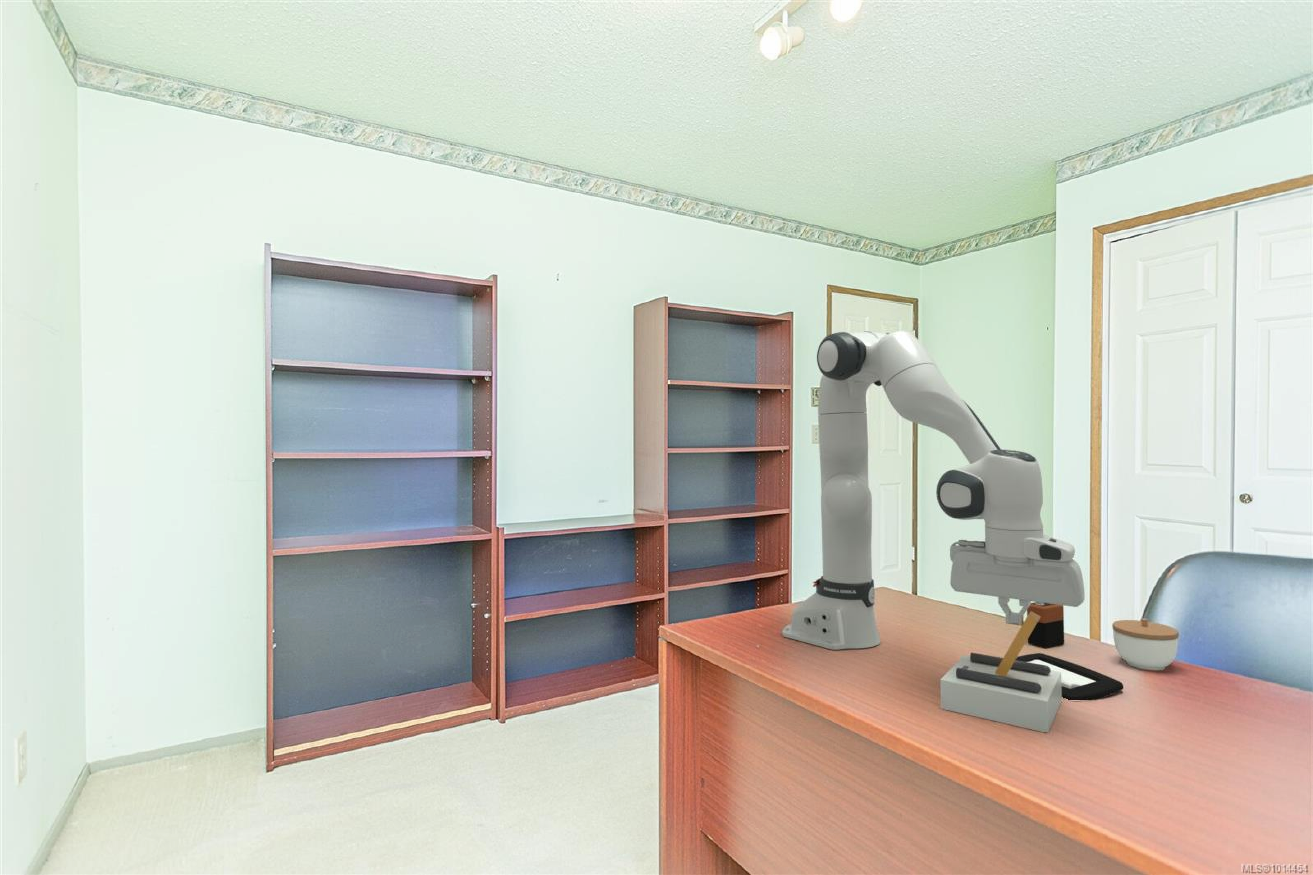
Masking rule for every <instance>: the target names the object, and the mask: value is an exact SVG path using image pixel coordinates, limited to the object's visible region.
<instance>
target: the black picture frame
mask: <svg viewBox="0 0 1313 875" xmlns="http://www.w3.org/2000/svg"><path fill="white" fill-rule="evenodd" d="M1016 660H1017V661H1023V662H1029V663H1035V664H1041V665H1046V666H1048V667H1049V668H1050V670H1052V671H1058V672H1061V686H1062V697H1063V698H1066V699H1068V700H1067V701H1069V700H1089V701H1095V700H1099V699H1102V698H1106V697H1109V696H1111V695H1114V694H1117V693H1118V692H1120V691H1121V690H1124V683H1122V682H1121V681H1120V680H1117V679H1115V678H1113V677H1110V676H1109V675H1106V674H1103V673H1101V672H1098V671H1096V670H1093V669H1091V668H1087V667H1085V666H1083V665H1079V664H1076V663H1074V662H1071V661H1068V660H1065V659H1061V658H1059V657H1055V656H1052V655H1048V654H1045V653H1041V652H1036V653H1035V652H1034V653H1030V654H1028V653H1027V654H1024V655H1020V656H1019V655H1018V657H1017V658H1016ZM1063 698H1062V699H1063ZM1066 699H1065V700H1066Z"/></svg>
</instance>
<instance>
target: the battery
mask: <svg viewBox="0 0 1313 875" xmlns="http://www.w3.org/2000/svg"><path fill="white" fill-rule="evenodd" d="M1064 609H1065V608H1064V605H1057V604H1049V603H1041V602H1034V601H1033V602H1031V605H1030V606H1029V608H1028V609H1027V611H1026V617H1027V616H1028V615H1029V613H1030V612H1033V613H1035V614H1037V615H1039V616H1040V619H1039V621H1038V622H1037V624H1036V626H1035V627H1034V629H1033V631H1032V633H1031V634H1030V636H1029V638H1028V639H1027V644H1029V645H1031V644H1032V645H1031V646H1035V647H1038V648H1041V647H1042V649H1048V648H1054V647H1058V646H1062V645H1064V644H1065V625H1064V624H1065V622H1064V621H1065V620H1064V619H1065V618H1064V616H1065V615H1064V614H1065V612H1064Z"/></svg>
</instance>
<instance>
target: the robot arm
mask: <svg viewBox="0 0 1313 875" xmlns="http://www.w3.org/2000/svg"><path fill="white" fill-rule="evenodd" d="M817 348H818V349H817V353H816V362H817V366H818V369H819V371H820V373H821V374H822V376H821V377H820V380H819V382H820V383H819V389H818V390H819V391H818V398H817V399H818V400H817V418H818V419H817V422H818V443H819V446H818V448H819V465H820V488H821V492H820V493H821V495H820V509H821V510H820V513H821V514H820V515H821V542H822V543H821V545H822V546H821V547H822V553H821V554H822V575H821V576H820V578H818V579H816V580H815V581H813V582H812V583H813V585H812V588H814V587H815V588H816V590H815V593H813V594H812V595H810V596H808V598H806V599H805V600H803V601H802V602H801V603H799V604H798V605H796V607H795V608H794V611H793V613H792V617H791V623H790V624H787V625H785V627H783V629H782V631H781V636H783V637H785V638H788V639H792V640H795V641H796V640H797V641H798V642H799V641H800V642H803V643H806V644H811V645H814V646H818V647H821V648H825V649H829V650H834V651H835V650H837V651H839V650H845V649H865V648H871V647H875V646H877V645H879V644H881V641H882V640H881V637H880V634H879V630H878V626H877V620H876V614H875V608H874V605H875V601H876V600H875V599H876V589H875V583H874V582H875V581H874V579H873V572H872V571H873V568H872V566H873V564H872V561H873V560H872V535H873V534H872V531H873V529H872V526H873V520H872V519H873V513H872V512H873V502H872V501H873V500H872V499H873V498H872V492H871V490H870V489H871V488H870V487H869V432H868V430H869V428H868V413H867V411H868V409H867V391H868V389H869V387H871V385H876V386H877V387H882V388H883V392H885V395H886V397H887V399H888V402H889V403H890V405H891V406H892V408H893V409H894V410H895V411H896V412H897V414H898V415H899V416H900V417H902V418H903V419H905V420H906V421H909V422H911V423H914V424H919V425H922V426H925V427H927V428H931V429H933V430H936V431H939V432H940V433H943V434H944V435H946V436H947V437H949V438H950V439H951V440H952V441H953V442H954V443H955V444H956V445H957V446H958V448H959V450H960V451H961V453H962V454H963V456H964V457H965V458H966V460H967V462H968V463H969V464H967V465H964V466H960V467H956V468H954V469H949V470H948V471H946V472H944V473H943V474H942V475H941V477H940V478H939V480H938V483H937V484H936V499H937V504H938V505H939V507H940V509H941V511H943V513H944V514H945V515H947V516H948V517H950V518H952V519H957V520H961V521H968V520H969V521H970V520H984V540H983V541H979V540H967V539H959V540H958V541H955V542H953V543H952V544H951V546H949V559H950V560H951V562H952V563H951V570H950V581H949V582H950V583H949V584H950V587H951V588H952V589H953V590H954V591H955V592H958V593H966V594H974V595H980V596H981V595H983V596H989V597H997V598H998V600H997V601H998V602H997V603H998V605H999V607H1000V608H1001V610H1002V611H1003V613H1004V614H1005V623H1006V624H1007V625H1013V626H1014V625H1015V626H1021V627H1022V625H1023V623H1024V621H1025V620H1024V619H1025V617H1024V616H1025V613H1027V609H1028V608H1029V606H1030V605H1031V603H1032V602H1033V603H1034V602H1041V603H1049V604H1057V605H1063V607H1073V608H1078V607H1079V606H1080V605H1082V604H1083V603H1084V601H1085V596H1086V595H1085V586H1084V584H1085V583H1084V578H1083V573H1082V570H1081V567H1080V565H1079V563H1078V562H1077V561H1076V560H1075V559H1074V558H1075V553H1076V551H1075V550H1076V549H1075V546H1074V545H1073V544H1071V543H1069V542H1066V541H1063V540H1060V539H1057V538H1054V537H1052V536H1048V535H1046V534H1044V525H1043V522H1042V519H1041V518H1042V517H1041V510H1042V507H1043V502H1044V500H1043V499H1044V498H1043V497H1044V496H1043V479H1042V472H1041V468H1040V467H1041V466H1040V464H1039V461H1038V459H1036V457H1035V456H1034V455H1032V454H1030V453H1028V452H1024V451H1019V450H1011V449H1001V447H1000V446H999V445H998V443H997V442H996V440H995V439H994V437H993V436H992V435H991V433H990V432H989V431H988V429H987V427H986V426H985V425H984V423H983V422H982V421H981V419H980V418H979V416H978V415H977V414H976V413H975V411H974V410H973V409H972V408H971V406H970V405H969V404H968V403H966V401H965V400H963V399H962V398H961V397H960V396H959V395H958V393H957V392H955V390H954V389H953V388H952V387H951V385H950V384H949V383H948V382H947V380H946V379H945V377H944V375H942V373H941V372H942V371H940V369H939V367H938V366H937V364H936V362H935V361H934V359H933V357H932V355H931V354H930V353H929V352H928V349H926V347H925V346H924V345H923V344H922V342H921V341H920V340H919V339H918V338H917V337H916V336H915V335H914V334H913V333H911V332H909V331H906V330H896V331H893V332H892V331H891V332H887V333H884V332H880V331H879V332H878V331H868V330H867V331H854V332H851V331H850V332H846V331H840V332H839V331H838V332H835V333H830V334H828V335H826V336H825V337H824V338H823V339H822V341H821V342H820V343H819V345H818V347H817ZM1011 599H1012V600H1018V601H1019V602H1018V603H1019V607H1021V609H1020V610H1019V612H1014V611H1012V610H1011V608H1010V606H1009V604H1008V603H1009V602H1010V601H1011Z"/></svg>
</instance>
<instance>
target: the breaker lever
mask: <svg viewBox="0 0 1313 875" xmlns="http://www.w3.org/2000/svg"><path fill="white" fill-rule="evenodd" d="M1039 619H1040V616H1039V615H1037V614H1035V613H1033V612H1030V613H1029V615H1028V616H1027V615H1026V617H1025V620H1024V623H1023V625H1022V626H1021V627H1020V628H1019V630H1018V632H1017V633H1016V636H1014V637H1015V638H1013V641H1012V642H1011V644H1010V646H1009V648H1008V649H1007V651H1006V652H1005V654H1004V656H1003V657H1002V658H1003V660H1002V661H1001V663H1000V665H999V666H998V668H997V670H996V672H995V673H996V674H998V675H1000V676H1004V677H1006V675H1007V674H1008V672H1009V670H1010V669H1011V667H1012V665H1013V664H1014V662H1015V660H1016V658H1017V657H1018V656H1019V654H1020V653H1021V652H1022V650H1023V648H1024V646H1025V645H1026V643H1027V642H1028V638H1029V636H1030V634H1031V633H1032V631H1033V629H1034V627H1035V626H1036V624H1037V622H1038V621H1039Z"/></svg>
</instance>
